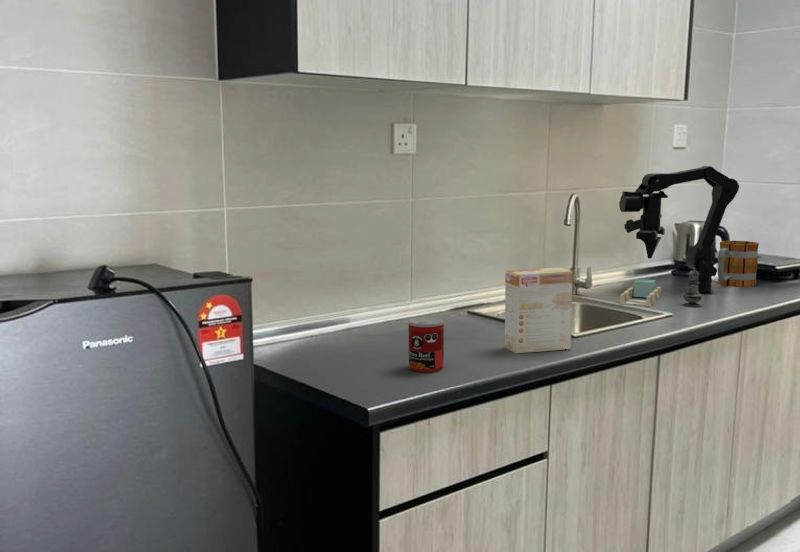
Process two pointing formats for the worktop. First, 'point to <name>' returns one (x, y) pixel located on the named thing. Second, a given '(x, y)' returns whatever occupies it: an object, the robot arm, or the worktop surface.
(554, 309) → the coffeecake box
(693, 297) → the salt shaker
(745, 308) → the worktop surface
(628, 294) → the chute
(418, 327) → the canned food
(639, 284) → the block
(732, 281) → the mug
